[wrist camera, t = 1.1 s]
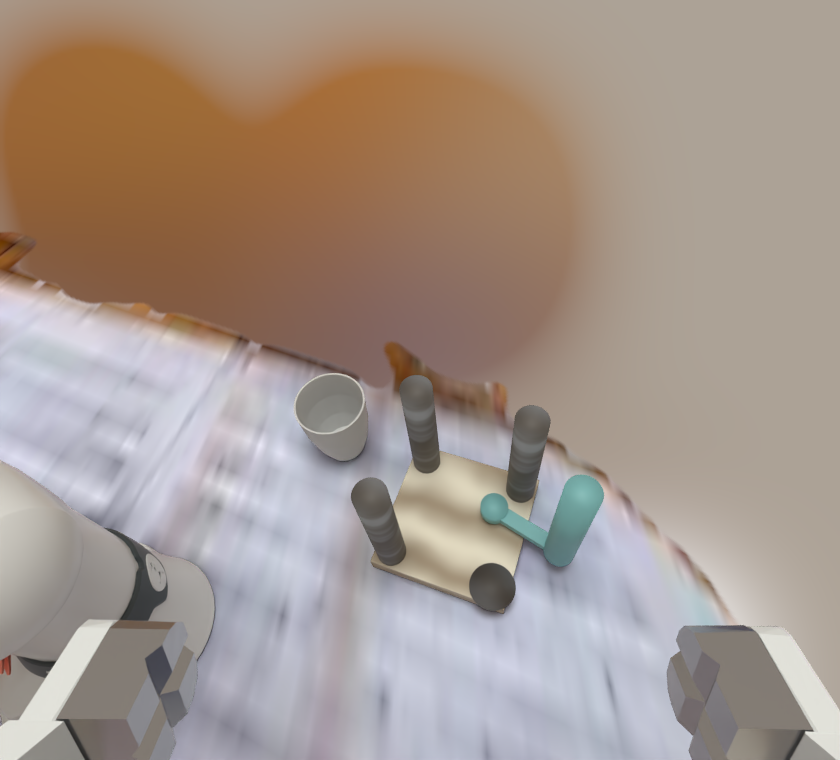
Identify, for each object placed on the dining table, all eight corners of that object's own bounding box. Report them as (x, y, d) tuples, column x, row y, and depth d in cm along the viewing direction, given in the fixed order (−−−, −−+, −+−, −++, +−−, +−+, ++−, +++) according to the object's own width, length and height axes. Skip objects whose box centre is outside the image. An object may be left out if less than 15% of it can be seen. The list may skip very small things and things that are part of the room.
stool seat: (507, 621, 58) (519, 575, 43) (371, 571, 62) (339, 513, 47) (542, 488, 66) (563, 410, 51) (419, 451, 70) (405, 369, 55)
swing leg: (474, 515, 62) (475, 450, 49) (489, 492, 63) (494, 423, 50) (565, 572, 58) (593, 518, 45) (579, 547, 59) (610, 487, 46)
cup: (347, 405, 75) (331, 361, 66) (390, 440, 71) (379, 398, 63) (301, 446, 72) (279, 406, 63) (343, 485, 68) (326, 447, 60)
